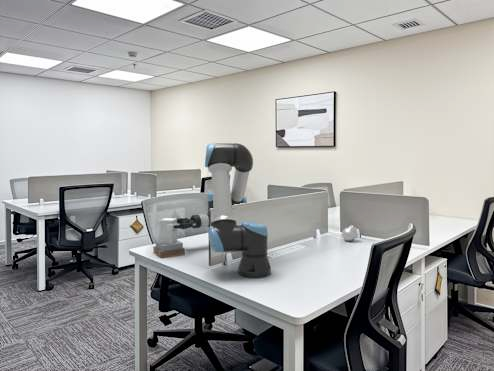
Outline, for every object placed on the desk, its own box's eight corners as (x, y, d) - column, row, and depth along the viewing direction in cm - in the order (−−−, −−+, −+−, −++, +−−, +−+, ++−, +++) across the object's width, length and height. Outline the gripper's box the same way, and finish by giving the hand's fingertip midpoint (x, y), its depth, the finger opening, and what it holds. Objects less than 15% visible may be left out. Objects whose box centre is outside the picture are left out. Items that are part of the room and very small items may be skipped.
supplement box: (172, 244, 201) (172, 220, 200) (159, 243, 202) (158, 220, 201) (177, 240, 208) (177, 218, 207) (164, 240, 209) (164, 217, 208)
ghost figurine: (353, 243, 227) (353, 227, 226) (339, 241, 234) (339, 225, 233) (360, 241, 234) (360, 225, 233) (346, 238, 240) (346, 223, 239)
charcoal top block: (182, 248, 203) (182, 243, 203) (163, 251, 197) (163, 246, 197) (174, 244, 212) (174, 238, 212) (155, 247, 206) (155, 241, 206)
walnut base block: (184, 256, 203) (184, 248, 203) (161, 259, 197) (161, 252, 196) (176, 250, 214) (175, 243, 214) (153, 253, 208) (153, 246, 207)
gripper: (208, 232, 203) (170, 236, 192) (190, 223, 224) (155, 227, 213) (208, 218, 202) (170, 222, 191) (190, 211, 223) (155, 214, 212)
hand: (162, 225), depth 202 cm, fingers open, 13 cm apart
